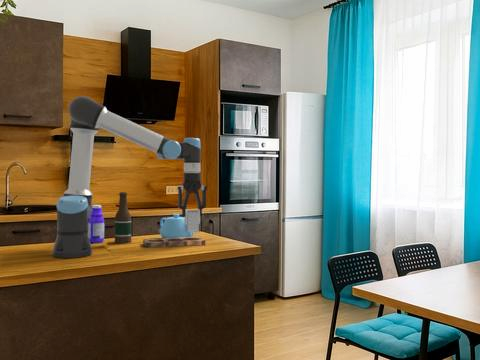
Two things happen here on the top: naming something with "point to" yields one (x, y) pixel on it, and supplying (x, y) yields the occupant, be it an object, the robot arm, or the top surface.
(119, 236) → the beer bottle
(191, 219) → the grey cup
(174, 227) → the teapot
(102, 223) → the bottle
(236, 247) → the top surface
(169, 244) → the brown wooden board
